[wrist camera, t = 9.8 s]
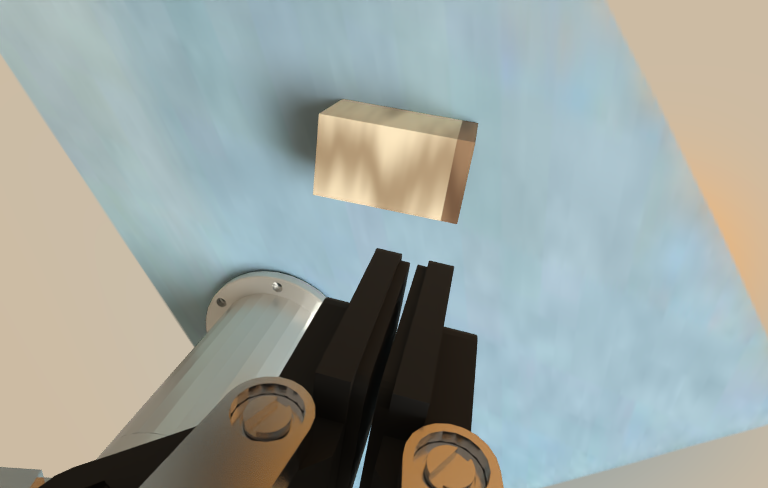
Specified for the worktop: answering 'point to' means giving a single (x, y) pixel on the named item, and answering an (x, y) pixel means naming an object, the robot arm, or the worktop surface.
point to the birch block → (393, 159)
